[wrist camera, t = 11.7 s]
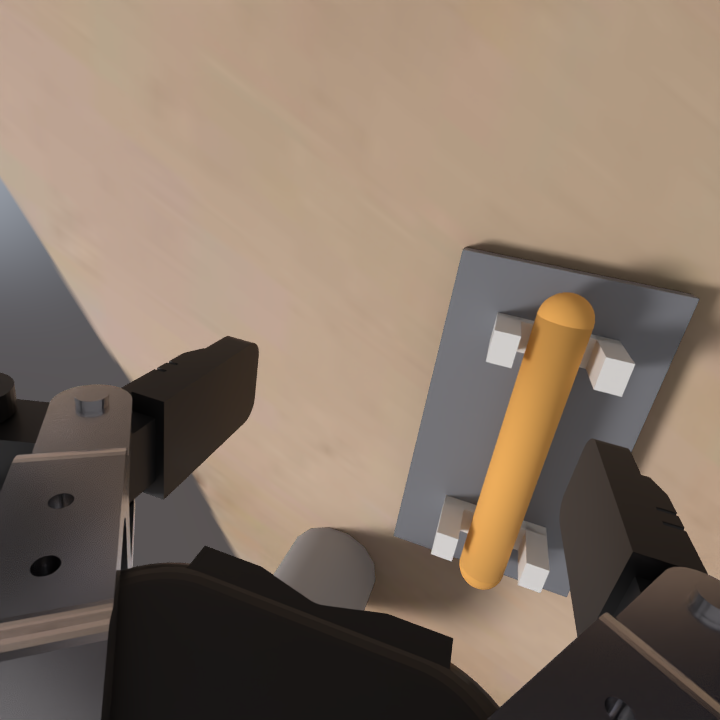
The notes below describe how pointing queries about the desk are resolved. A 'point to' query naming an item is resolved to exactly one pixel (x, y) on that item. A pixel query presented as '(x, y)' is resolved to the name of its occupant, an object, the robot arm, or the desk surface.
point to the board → (494, 388)
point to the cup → (329, 569)
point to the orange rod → (526, 434)
